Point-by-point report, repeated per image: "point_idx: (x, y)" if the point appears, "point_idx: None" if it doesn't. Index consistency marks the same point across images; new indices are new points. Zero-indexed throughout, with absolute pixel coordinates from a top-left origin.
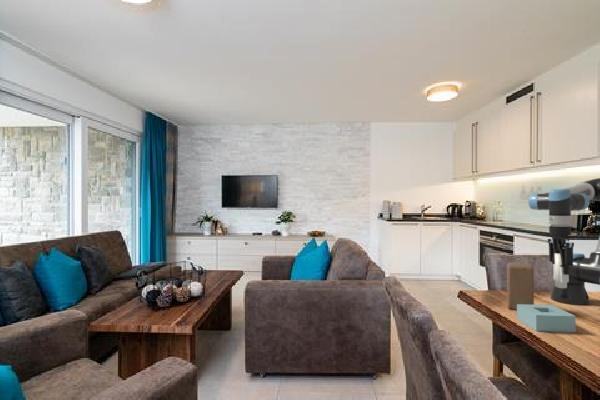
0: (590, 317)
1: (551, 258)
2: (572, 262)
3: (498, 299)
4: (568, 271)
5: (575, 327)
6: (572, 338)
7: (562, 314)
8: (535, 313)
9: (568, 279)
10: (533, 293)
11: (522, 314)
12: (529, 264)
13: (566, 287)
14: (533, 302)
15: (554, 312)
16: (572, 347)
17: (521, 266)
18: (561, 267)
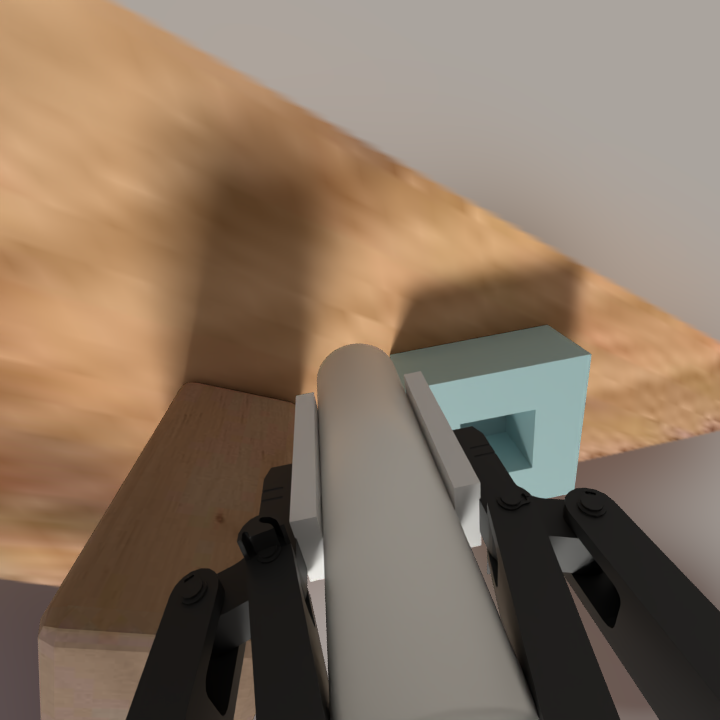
0: (300, 131)
1: (239, 670)
2: (643, 538)
3: (100, 490)
4: (493, 452)
5: (558, 332)
6: (609, 363)
7: (564, 399)
8: (551, 490)
9: (428, 386)
10: (287, 462)
11: None
12: (95, 655)
13: (387, 355)
14: (291, 428)
15: (535, 420)
16: (681, 393)
17: (252, 699)
18: (477, 537)
